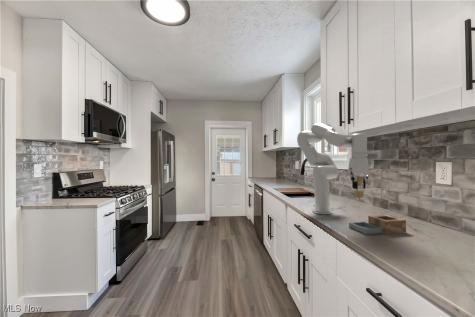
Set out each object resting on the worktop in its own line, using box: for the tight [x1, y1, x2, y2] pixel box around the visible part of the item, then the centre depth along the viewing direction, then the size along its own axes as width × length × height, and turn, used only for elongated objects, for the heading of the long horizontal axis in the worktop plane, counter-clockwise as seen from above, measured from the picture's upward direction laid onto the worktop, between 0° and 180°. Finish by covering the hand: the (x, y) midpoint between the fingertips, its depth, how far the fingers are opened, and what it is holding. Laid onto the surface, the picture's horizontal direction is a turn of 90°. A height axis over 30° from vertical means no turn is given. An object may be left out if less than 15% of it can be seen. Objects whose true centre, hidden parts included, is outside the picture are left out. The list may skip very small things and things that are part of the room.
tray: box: [348, 221, 384, 236], centre depth 110 cm, size 12×9×2 cm
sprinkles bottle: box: [354, 174, 364, 198], centre depth 123 cm, size 5×5×14 cm
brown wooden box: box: [367, 214, 407, 235], centre depth 110 cm, size 11×11×6 cm
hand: (358, 188), depth 123 cm, fingers closed on sprinkles bottle, 4 cm apart
